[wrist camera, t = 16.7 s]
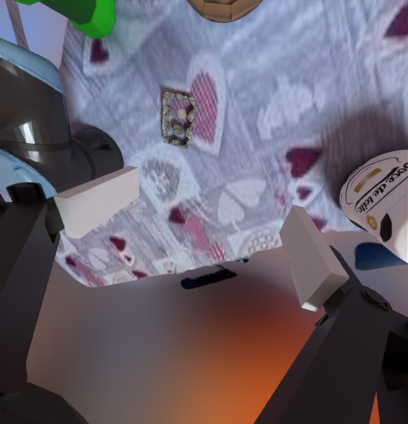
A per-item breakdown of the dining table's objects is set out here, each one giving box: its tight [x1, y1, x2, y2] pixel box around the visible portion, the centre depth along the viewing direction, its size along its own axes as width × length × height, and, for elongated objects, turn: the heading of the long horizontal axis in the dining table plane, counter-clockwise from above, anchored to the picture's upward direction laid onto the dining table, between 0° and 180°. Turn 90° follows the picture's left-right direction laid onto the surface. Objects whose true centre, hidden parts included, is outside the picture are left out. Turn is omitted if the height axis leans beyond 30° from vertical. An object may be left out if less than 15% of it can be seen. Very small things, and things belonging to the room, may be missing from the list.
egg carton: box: [162, 92, 197, 149], centre depth 38 cm, size 11×8×4 cm
